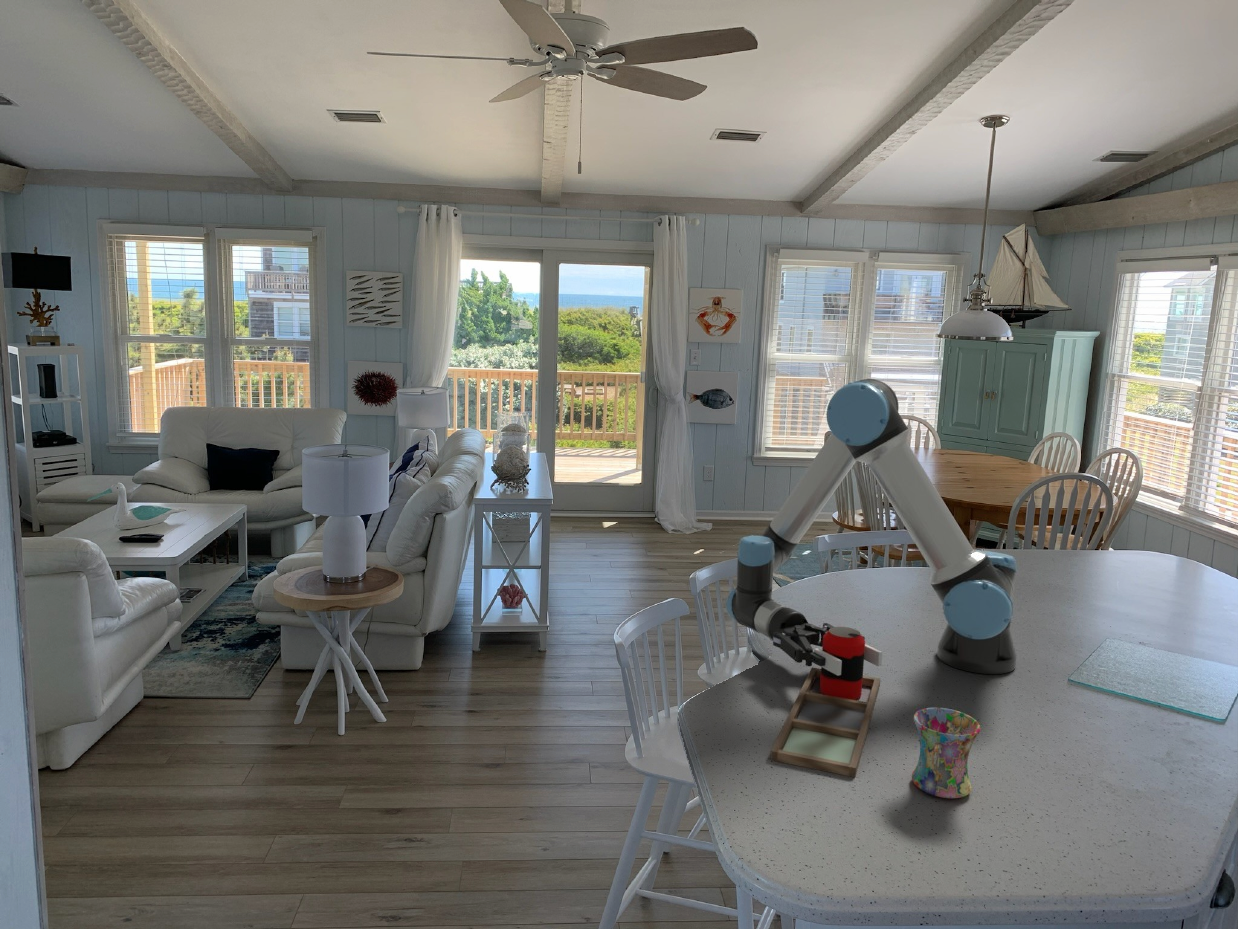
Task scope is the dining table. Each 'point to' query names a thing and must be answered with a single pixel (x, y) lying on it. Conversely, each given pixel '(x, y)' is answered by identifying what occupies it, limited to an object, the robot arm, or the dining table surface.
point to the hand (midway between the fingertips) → (860, 663)
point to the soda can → (844, 663)
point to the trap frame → (826, 729)
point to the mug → (944, 751)
